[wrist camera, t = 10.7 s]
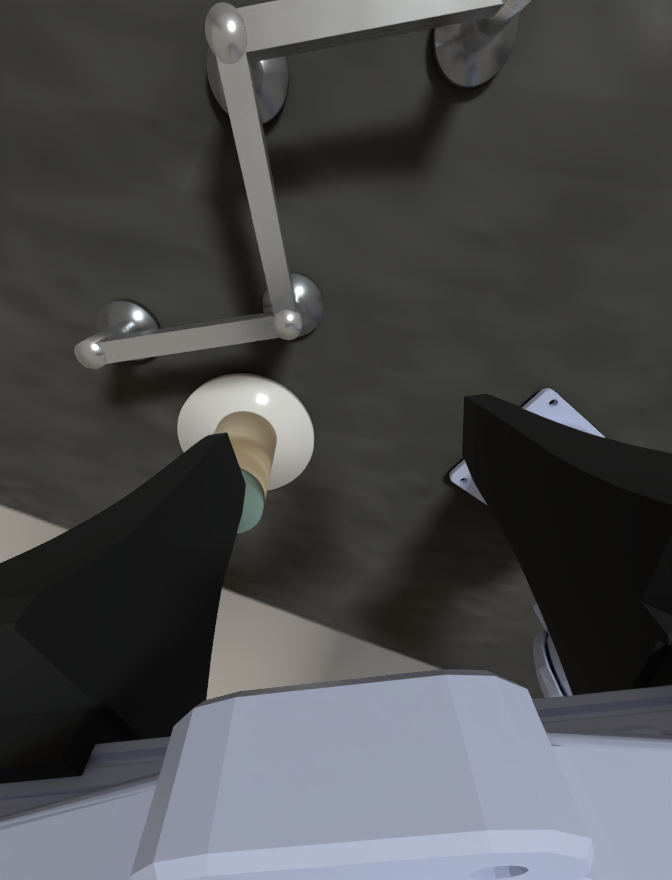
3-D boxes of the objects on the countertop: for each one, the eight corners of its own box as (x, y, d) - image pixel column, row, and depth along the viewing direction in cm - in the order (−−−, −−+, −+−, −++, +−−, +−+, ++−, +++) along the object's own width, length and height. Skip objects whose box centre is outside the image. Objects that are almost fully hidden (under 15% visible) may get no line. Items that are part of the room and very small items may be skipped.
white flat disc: (340, 422, 22) (340, 427, 22) (270, 504, 25) (269, 510, 25) (220, 344, 20) (217, 348, 19) (158, 447, 23) (155, 452, 22)
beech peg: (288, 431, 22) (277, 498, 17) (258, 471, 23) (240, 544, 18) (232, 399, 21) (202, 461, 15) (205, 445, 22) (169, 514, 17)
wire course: (530, 23, 14) (600, -39, 10) (245, 425, 22) (231, 463, 19) (336, -253, 11) (342, -473, 7) (92, 335, 19) (42, 362, 16)
